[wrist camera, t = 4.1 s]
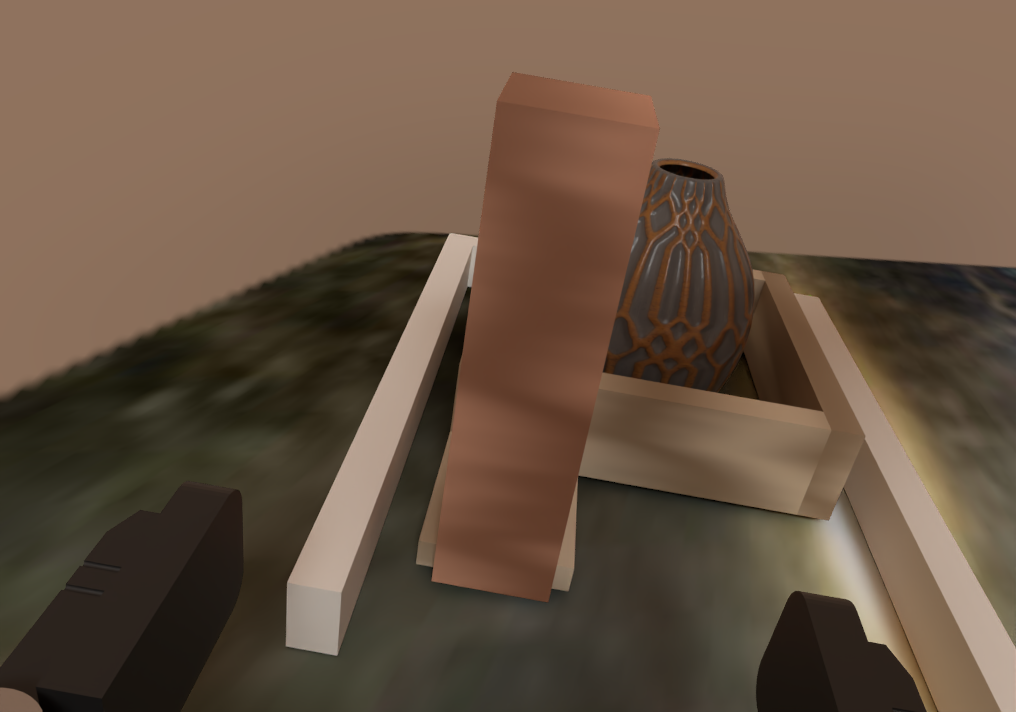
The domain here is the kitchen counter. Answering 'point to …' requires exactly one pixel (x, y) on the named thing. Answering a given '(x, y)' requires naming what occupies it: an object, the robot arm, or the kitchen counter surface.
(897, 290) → the kitchen counter surface
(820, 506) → the square wooden tray
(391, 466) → the rail lane
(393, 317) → the kitchen counter surface
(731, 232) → the vase
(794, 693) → the robot arm
